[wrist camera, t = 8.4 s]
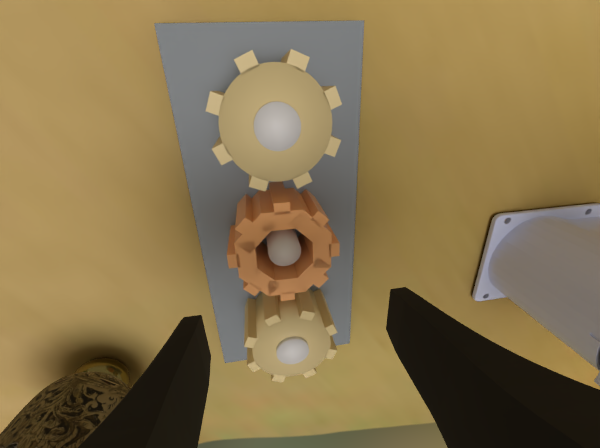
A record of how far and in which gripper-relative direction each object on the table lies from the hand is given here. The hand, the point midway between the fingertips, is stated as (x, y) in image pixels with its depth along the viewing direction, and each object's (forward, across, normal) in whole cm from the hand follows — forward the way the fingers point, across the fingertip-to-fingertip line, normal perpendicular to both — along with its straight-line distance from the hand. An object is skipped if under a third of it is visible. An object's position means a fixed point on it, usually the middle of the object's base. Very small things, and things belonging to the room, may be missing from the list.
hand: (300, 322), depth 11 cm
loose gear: (+8, 0, 0) cm, 8 cm away
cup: (+10, +14, +11) cm, 20 cm away
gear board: (+9, 0, 0) cm, 9 cm away
